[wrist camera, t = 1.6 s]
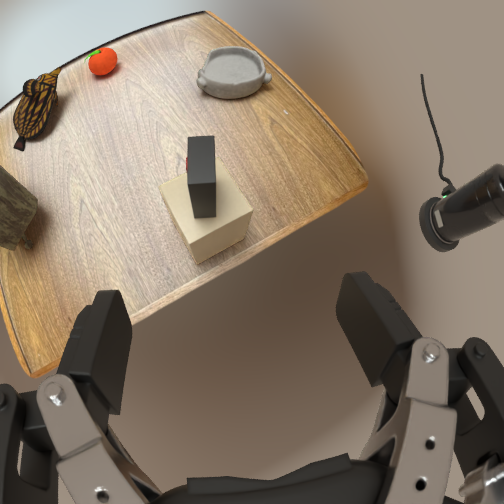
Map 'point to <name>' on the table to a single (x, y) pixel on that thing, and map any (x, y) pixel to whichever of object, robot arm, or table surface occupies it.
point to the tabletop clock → (14, 211)
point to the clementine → (102, 61)
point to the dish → (232, 72)
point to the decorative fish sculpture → (35, 107)
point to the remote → (201, 176)
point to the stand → (208, 229)
